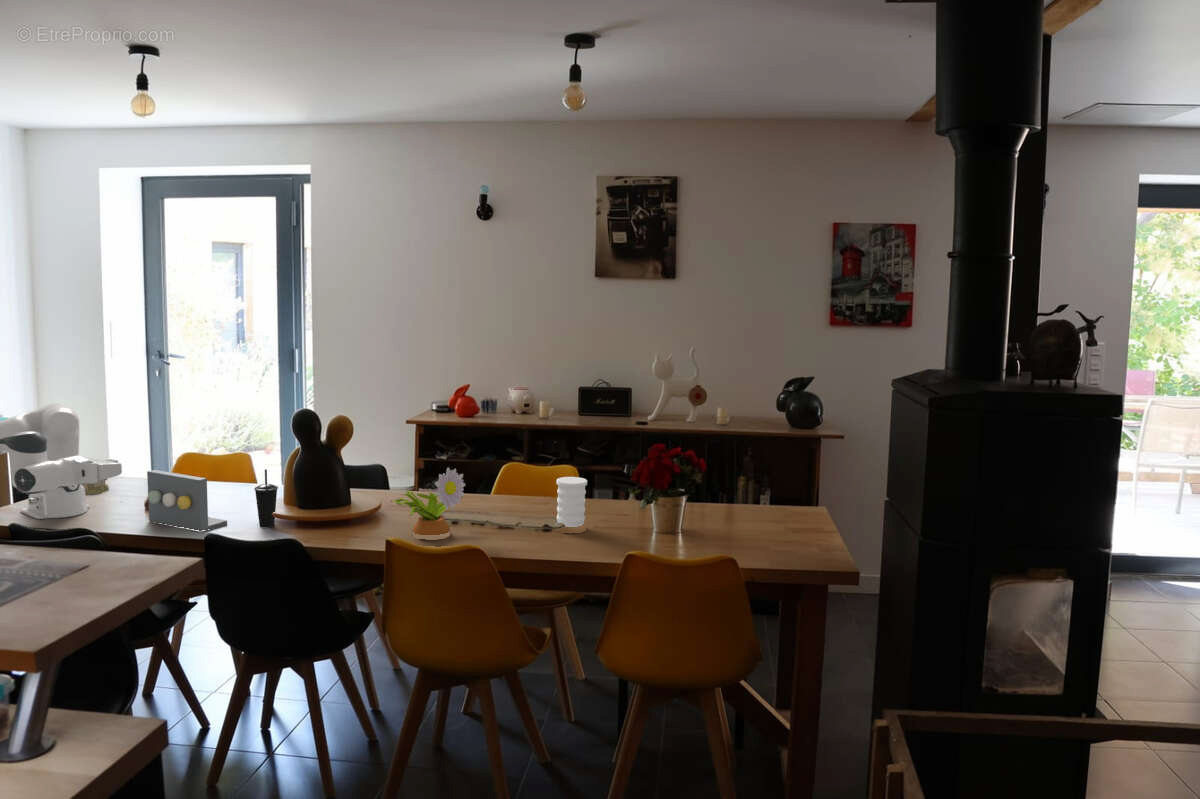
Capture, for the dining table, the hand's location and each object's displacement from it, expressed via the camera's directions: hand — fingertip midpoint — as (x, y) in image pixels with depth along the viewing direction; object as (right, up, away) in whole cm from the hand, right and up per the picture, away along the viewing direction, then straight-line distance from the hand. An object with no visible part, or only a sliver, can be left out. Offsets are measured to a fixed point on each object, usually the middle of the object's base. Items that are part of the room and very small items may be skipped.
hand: (115, 462), depth 284 cm
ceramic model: (-44, -16, +62) cm, 77 cm away
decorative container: (+147, -26, +28) cm, 152 cm away
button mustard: (+18, -16, +10) cm, 26 cm away
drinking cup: (+41, -24, +21) cm, 52 cm away
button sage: (+5, -15, +16) cm, 23 cm away
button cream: (+11, -16, +13) cm, 24 cm away
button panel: (+14, -23, +21) cm, 34 cm away
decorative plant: (+99, -26, +17) cm, 104 cm away
